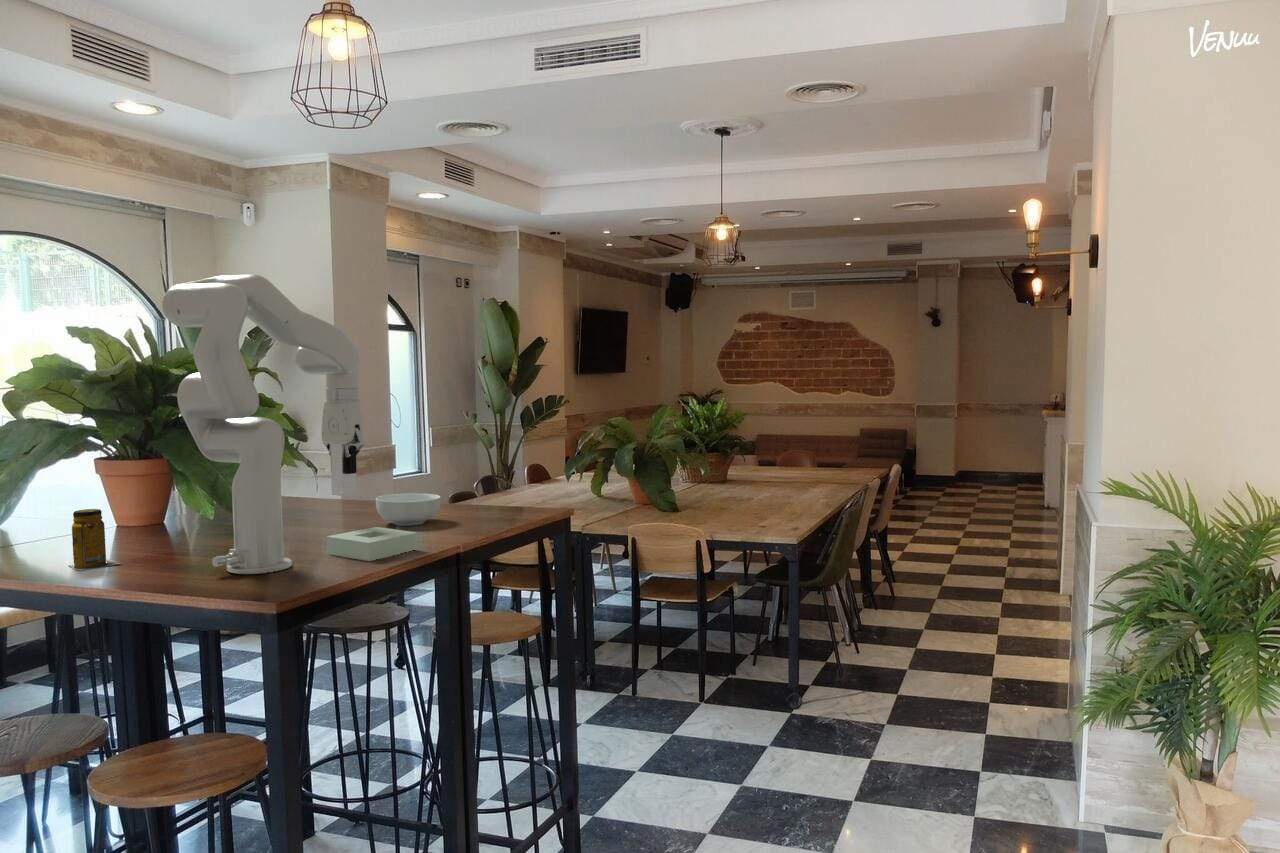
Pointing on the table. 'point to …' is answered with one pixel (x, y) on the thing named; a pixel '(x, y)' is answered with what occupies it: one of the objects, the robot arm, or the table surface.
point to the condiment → (89, 540)
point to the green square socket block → (371, 543)
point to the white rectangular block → (341, 473)
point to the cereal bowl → (408, 507)
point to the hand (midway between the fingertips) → (343, 472)
